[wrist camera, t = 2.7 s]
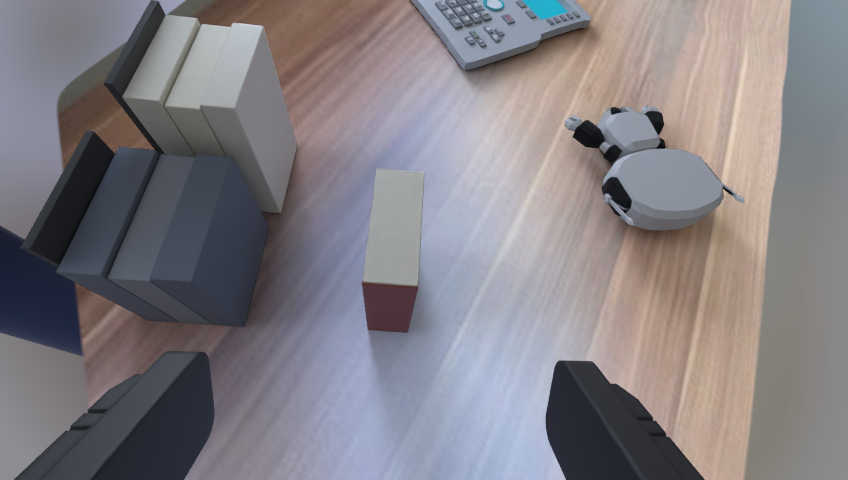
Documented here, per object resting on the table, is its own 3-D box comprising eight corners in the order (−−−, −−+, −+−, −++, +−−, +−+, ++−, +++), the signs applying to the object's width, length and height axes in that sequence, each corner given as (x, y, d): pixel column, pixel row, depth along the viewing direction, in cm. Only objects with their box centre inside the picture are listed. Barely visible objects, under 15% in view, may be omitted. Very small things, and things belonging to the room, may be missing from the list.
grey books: (139, 319, 31) (15, 256, 21) (177, 219, 35) (89, 123, 25) (244, 327, 32) (175, 269, 21) (269, 227, 36) (222, 136, 25)
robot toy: (548, 137, 45) (613, 251, 38) (563, 105, 41) (638, 225, 34) (642, 123, 47) (720, 228, 40) (664, 91, 43) (755, 201, 36)
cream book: (367, 330, 33) (361, 283, 23) (377, 241, 36) (376, 167, 26) (407, 333, 33) (418, 287, 23) (413, 244, 36) (424, 172, 27)
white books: (198, 206, 36) (102, 83, 24) (223, 137, 40) (150, -1, 27) (281, 213, 37) (229, 96, 24) (297, 145, 40) (260, 12, 28)
